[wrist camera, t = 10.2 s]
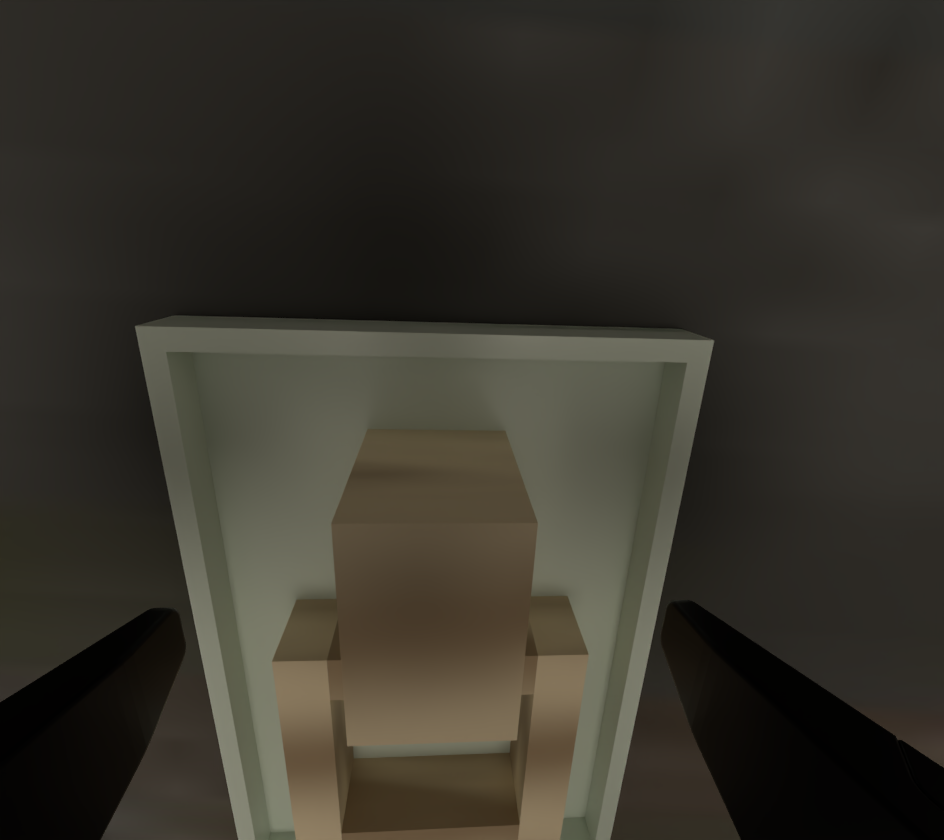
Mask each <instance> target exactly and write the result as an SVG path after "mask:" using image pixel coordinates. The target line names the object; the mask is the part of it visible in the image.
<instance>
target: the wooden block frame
mask: <svg viewBox="0 0 944 840" xmlns="http://www.w3.org/2000/svg"><path fill="white" fill-rule="evenodd" d="M331 529H332V543H333V557H334V571H335V585H336V599H302V600H296V602H295V605H294V607H293V610H292V612H291V615H290V617H289V620H288V622H287V625H286V627H285V630H284V632H283V635H282V637H281V640H280V642H279V645H278V647H277V650H276V652H275V655H274V657H273V660H272V667H273V675H274V682H275V690H276V697H277V704H278V712H279V719H280V726H281V734H282V741H283V749H284V756H285V763H286V771H287V778H288V785H289V793H290V800H291V808H292V815H293V822H294V830H295V837H296V840H560V837H561V830H562V824H563V818H564V811H565V805H566V798H567V792H568V785H569V779H570V773H571V766H572V760H573V753H574V747H575V740H576V734H577V728H578V721H579V715H580V708H581V702H582V695H583V689H584V683H585V676H586V670H587V663H588V657H589V654H588V651H587V648H586V645H585V643H584V640H583V637H582V634H581V632H580V629H579V626H578V623H577V621H576V618H575V615H574V612H573V610H572V607H571V604H570V601H569V599H568V596H531V590H532V580H533V570H534V559H535V549H536V539H537V529H538V522H537V519H536V516H535V513H534V510H533V508H532V505H531V502H530V499H529V496H528V493H527V491H526V488H525V485H524V482H523V479H522V476H521V474H520V471H519V468H518V465H517V462H516V459H515V457H514V454H513V451H512V448H511V445H510V442H509V440H508V437H507V434H506V431H485V430H400V429H367V432H366V434H365V437H364V439H363V442H362V445H361V447H360V450H359V452H358V455H357V458H356V460H355V463H354V465H353V468H352V471H351V473H350V476H349V478H348V481H347V484H346V486H345V489H344V492H343V494H342V497H341V499H340V502H339V505H338V507H337V510H336V512H335V515H334V518H333V520H332V523H331ZM485 741H511V743H510V753H489V754H462V755H435V756H408V757H381V758H355V759H354V754H353V746H372V745H400V744H428V743H456V742H485Z"/></svg>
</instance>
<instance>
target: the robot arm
mask: <svg viewBox="0 0 944 840" xmlns="http://www.w3.org/2000/svg"><path fill="white" fill-rule="evenodd" d="M661 645H662V648H663V651H664V654H665V657H666V660H667V663H668V666H669V669H670V672H671V674H672V677H673V680H674V683H675V686H676V689H677V692H678V695H679V698H680V700H681V703H682V706H683V709H684V712H685V715H686V718H687V720H688V723H689V726H690V728H691V731H692V733H693V735H694V738H695V740H696V742H697V744H698V747H699V749H700V751H701V753H702V755H703V758H704V760H705V762H706V764H707V766H708V769H709V771H710V773H711V775H712V777H713V779H714V782H715V784H716V786H717V788H718V790H719V793H720V795H721V797H722V799H723V801H724V803H725V806H726V808H727V810H728V812H729V814H730V817H731V819H732V821H733V823H734V825H735V828H736V830H737V832H738V834H739V836H740V838H741V840H944V768H943V767H942V766H940V765H939V764H937V763H935V762H934V761H932V760H931V759H929V758H928V757H926V756H925V755H923V754H922V753H920V752H919V751H917V750H916V749H914V748H913V747H911V746H910V745H908V744H907V743H905V742H904V741H902V740H897V738H896V736H895V735H893V734H892V733H890V732H889V731H887V730H886V729H884V728H883V727H881V726H880V725H878V724H877V723H875V722H874V721H872V720H871V719H869V718H868V717H866V716H865V715H863V714H862V713H860V712H859V711H857V710H856V709H854V708H853V707H851V706H850V705H848V704H847V703H845V702H844V701H842V700H841V699H839V698H838V697H836V696H835V695H833V694H832V693H830V692H829V691H827V690H826V689H824V688H823V687H821V686H820V685H818V684H817V683H815V682H814V681H812V680H811V679H809V678H808V677H806V676H804V675H803V674H801V673H800V672H798V671H797V670H795V669H794V668H792V667H791V666H789V665H788V664H786V663H785V662H783V661H782V660H780V659H779V658H777V657H776V656H774V655H773V654H771V653H770V652H768V651H767V650H765V649H764V648H762V647H761V646H759V645H758V644H756V643H755V642H753V641H752V640H750V639H749V638H747V637H746V636H744V635H743V634H741V633H740V632H738V631H737V630H735V629H734V628H732V627H731V626H729V625H728V624H726V623H725V622H723V621H722V620H720V619H719V618H717V617H716V616H714V615H713V614H711V613H710V612H708V611H707V610H705V609H704V608H702V607H701V606H699V605H698V604H696V603H695V602H693V601H690V600H672V601H670V602H669V603H668V605H667V607H666V612H665V617H664V621H663V626H662V630H661ZM185 650H186V642H185V637H184V632H183V628H182V623H181V618H180V614H179V612H178V610H177V609H175V608H152V609H149V610H147V611H146V612H144V613H142V614H141V615H139V616H138V617H136V618H134V619H133V620H131V621H130V622H128V623H126V624H125V625H123V626H122V627H120V628H118V629H117V630H115V631H114V632H112V633H110V634H109V635H107V636H106V637H104V638H102V639H101V640H99V641H98V642H96V643H94V644H93V645H91V646H90V647H88V648H86V649H85V650H83V651H82V652H80V653H78V654H77V655H75V656H74V657H72V658H70V659H69V660H67V661H66V662H64V663H62V664H61V665H59V666H58V667H56V668H54V669H53V670H51V671H50V672H48V673H46V674H45V675H43V676H42V677H40V678H38V679H37V680H35V681H34V682H32V683H30V684H29V685H27V686H26V687H24V688H22V689H21V690H19V691H18V692H16V693H14V694H13V695H11V696H10V697H8V698H6V699H5V700H3V701H2V702H0V840H101V838H102V836H103V834H104V832H105V830H106V828H107V826H108V825H109V823H110V821H111V819H112V817H113V815H114V813H115V811H116V809H117V807H118V805H119V803H120V801H121V799H122V797H123V795H124V793H125V791H126V789H127V788H128V786H129V784H130V782H131V780H132V778H133V776H134V774H135V772H136V770H137V768H138V766H139V764H140V762H141V760H142V758H143V756H144V754H145V752H146V750H147V748H148V745H149V743H150V741H151V738H152V736H153V734H154V731H155V729H156V726H157V724H158V721H159V719H160V716H161V714H162V711H163V709H164V706H165V704H166V701H167V699H168V696H169V694H170V691H171V689H172V686H173V684H174V681H175V679H176V676H177V674H178V671H179V669H180V666H181V664H182V661H183V659H184V655H185Z"/></svg>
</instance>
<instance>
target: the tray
mask: <svg viewBox="0 0 944 840" xmlns="http://www.w3.org/2000/svg"><path fill="white" fill-rule="evenodd" d="M135 329H136V334H137V339H138V344H139V349H140V354H141V359H142V364H143V369H144V374H145V379H146V384H147V389H148V394H149V399H150V404H151V409H152V413H153V418H154V423H155V428H156V433H157V438H158V443H159V448H160V453H161V458H162V463H163V468H164V473H165V478H166V483H167V488H168V493H169V498H170V503H171V508H172V513H173V518H174V523H175V528H176V533H177V538H178V543H179V547H180V552H181V557H182V562H183V567H184V572H185V577H186V582H187V587H188V592H189V597H190V602H191V607H192V612H193V617H194V622H195V627H196V632H197V637H198V642H199V647H200V652H201V657H202V662H203V667H204V672H205V677H206V681H207V686H208V691H209V696H210V701H211V706H212V711H213V716H214V721H215V726H216V731H217V736H218V741H219V746H220V751H221V756H222V761H223V766H224V771H225V776H226V781H227V786H228V791H229V796H230V801H231V806H232V811H233V816H234V820H235V825H236V830H237V835H238V840H296V837H295V830H294V822H293V815H292V808H291V800H290V793H289V785H288V778H287V771H286V763H285V756H284V749H283V741H282V734H281V726H280V719H279V712H278V704H277V697H276V690H275V682H274V675H273V667H272V660H273V657H274V655H275V652H276V650H277V647H278V645H279V642H280V640H281V637H282V635H283V632H284V630H285V627H286V625H287V622H288V620H289V617H290V615H291V612H292V610H293V607H294V605H295V602H296V600H302V599H336V585H335V571H334V557H333V543H332V529H331V523H332V520H333V518H334V515H335V512H336V510H337V507H338V505H339V502H340V499H341V497H342V494H343V492H344V489H345V486H346V484H347V481H348V478H349V476H350V473H351V471H352V468H353V465H354V463H355V460H356V458H357V455H358V452H359V450H360V447H361V445H362V442H363V439H364V437H365V434H366V432H367V429H400V430H485V431H506V434H507V437H508V440H509V442H510V445H511V448H512V451H513V454H514V457H515V459H516V462H517V465H518V468H519V471H520V474H521V476H522V479H523V482H524V485H525V488H526V491H527V493H528V496H529V499H530V502H531V505H532V508H533V510H534V513H535V516H536V519H537V522H538V529H537V539H536V549H535V559H534V570H533V580H532V590H531V596H568V599H569V601H570V604H571V607H572V610H573V612H574V615H575V618H576V621H577V623H578V626H579V629H580V632H581V634H582V637H583V640H584V643H585V645H586V648H587V651H588V654H589V657H588V663H587V670H586V676H585V683H584V689H583V695H582V702H581V708H580V715H579V721H578V728H577V734H576V740H575V747H574V753H573V760H572V766H571V773H570V779H569V785H568V792H567V798H566V805H565V811H564V818H563V824H562V830H561V837H560V840H610V838H611V833H612V829H613V824H614V819H615V814H616V809H617V805H618V800H619V795H620V790H621V785H622V781H623V776H624V771H625V766H626V761H627V757H628V752H629V747H630V742H631V737H632V733H633V728H634V723H635V718H636V713H637V709H638V704H639V699H640V694H641V689H642V685H643V680H644V675H645V670H646V665H647V661H648V656H649V651H650V646H651V641H652V637H653V632H654V627H655V622H656V617H657V613H658V608H659V603H660V598H661V593H662V589H663V584H664V579H665V574H666V569H667V565H668V560H669V555H670V550H671V545H672V541H673V536H674V531H675V526H676V521H677V517H678V512H679V507H680V502H681V497H682V493H683V488H684V483H685V478H686V473H687V469H688V464H689V459H690V454H691V449H692V445H693V440H694V435H695V430H696V425H697V421H698V416H699V411H700V406H701V401H702V397H703V392H704V387H705V382H706V377H707V373H708V368H709V363H710V358H711V353H712V349H713V344H714V340H712V339H709V338H706V337H703V336H700V335H698V334H695V333H692V332H689V331H686V330H684V329H674V328H636V327H598V326H561V325H523V324H485V323H447V322H409V321H372V320H334V319H296V318H258V317H220V316H182V315H173V316H170V317H166V318H162V319H159V320H155V321H151V322H148V323H144V324H140V325H137V326H135ZM510 743H511V741H485V742H456V743H428V744H400V745H372V746H353V754H354V759H355V758H381V757H408V756H435V755H462V754H489V753H510Z"/></svg>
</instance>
